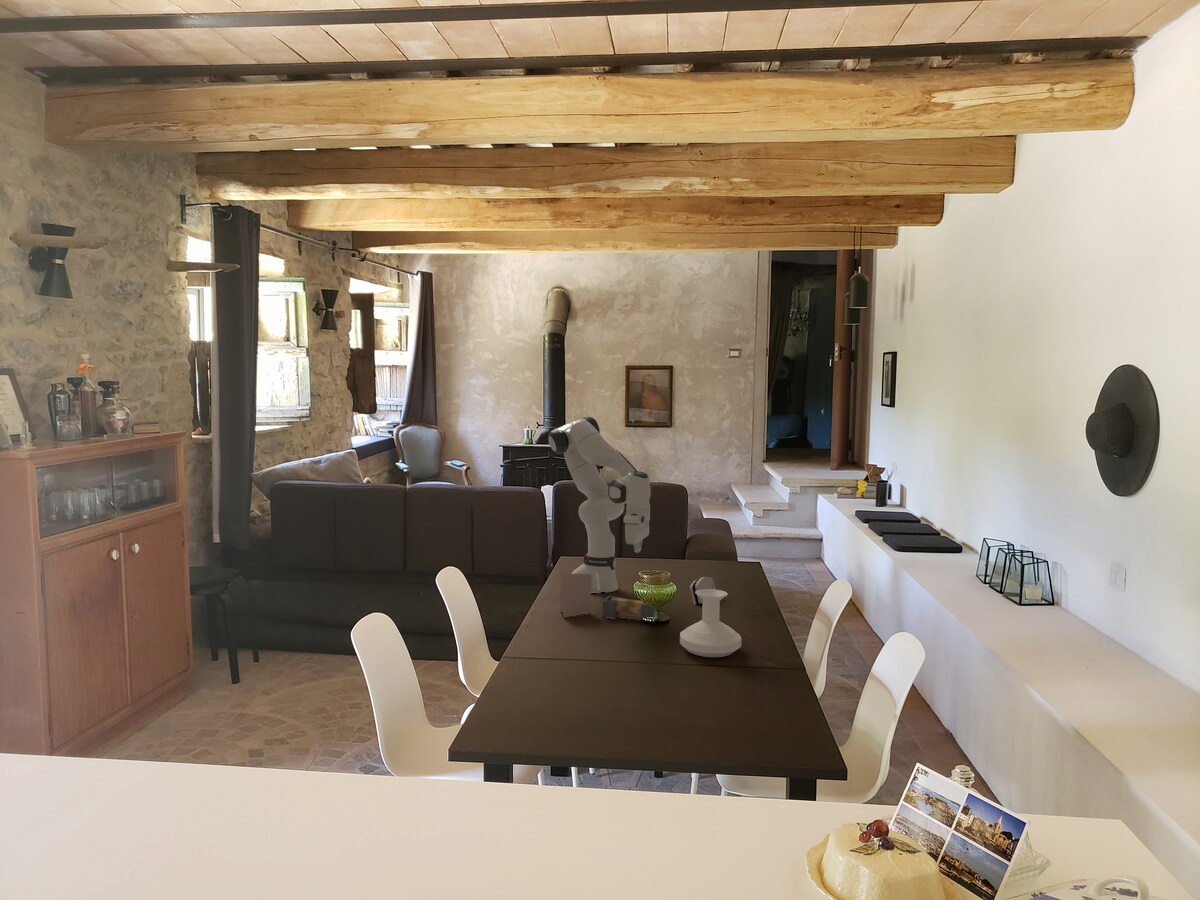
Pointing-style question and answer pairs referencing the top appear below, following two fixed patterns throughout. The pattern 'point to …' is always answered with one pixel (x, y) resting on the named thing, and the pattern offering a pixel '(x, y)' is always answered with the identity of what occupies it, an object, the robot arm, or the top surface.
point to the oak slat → (628, 605)
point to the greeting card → (575, 593)
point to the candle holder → (710, 629)
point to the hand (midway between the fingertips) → (637, 551)
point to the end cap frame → (610, 611)
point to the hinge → (700, 588)
